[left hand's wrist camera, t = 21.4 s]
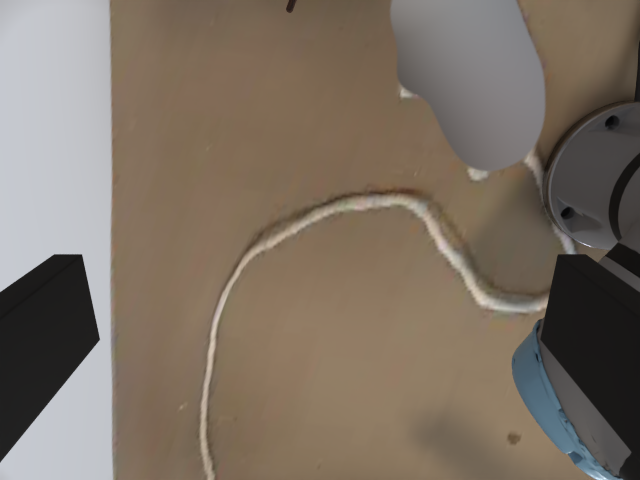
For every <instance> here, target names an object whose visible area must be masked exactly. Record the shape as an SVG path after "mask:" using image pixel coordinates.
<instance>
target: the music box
mask: <svg viewBox="0 0 640 480" xmlns="http://www.w3.org/2000/svg"><path fill="white" fill-rule="evenodd" d="M295 3H296V0H289V3H288V5H287V8H286V10H287V12H289V13H291V12H292V11H293V8H294V6H295Z"/></svg>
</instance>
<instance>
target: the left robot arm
mask: <svg viewBox="0 0 640 480" xmlns="http://www.w3.org/2000/svg"><path fill="white" fill-rule="evenodd" d="M543 198H544V203H545V207H546V210H547V212H548V214H549V216H550V218H551V219H552V221H553V222H554V223H555V225H556V226H557V227H558V228H559V229H560V230H561V231H563V232H564V233H565V234H567V235H568V236H570V237H571V238H573V239H574V240H576V241H578V242H580V243H582V244H584V245H587V246H590V247H595V248H599V249H606V250H610V251H609V252H608V253H607V254H606V255H605V256H604V257H603V258H602V259H601V260H600V261H599V262H598V263H597V262H596V261H594V260H593V259H592V258H590V257H589V256H587V255H586V254H558V257H557V262H556V266H555V271H554V276H553V281H552V285H551V290H550V295H549V300H548V304H547V309H546V314H545V317H544V318H543V319H540V320H538V321H537V322H536V323H535V325H534V327H533V331H532V332H531V333H530V334H529V335H528V336H527V338H526V339H525V340H524V341H523V342H522V343H521V344H520V346H519V347H518V348H517V349H516V351H515V352H514V355H513V358H512V374H513V379H514V382H515V384H516V387H517V390H518V392H519V394H520V396H521V398H522V399H523V401H524V403H525V405H526V407H527V408H528V410H529V411H530V413H531V414H532V416H533V417H534V419H535V420H536V422H537V423H538V424H539V426H540V427H541V428H542V430H543V431H544V432H545V433H546V435H547V436H548V437H549V438H550V439H551V441H552V442H553V443H554V444H555V445H556V446H557V447H558V448H559V449H560V450H561V451H562V452H563V453H568V455H569V457H570V458H571V459H572V461H573V462H574V464H575V465H576V466H577V467H579V468H580V469H581V470H582V471H583V472H585V473H586V474H588V475H589V476H591V477H592V478H594V479H596V480H640V42H639V50H638V70H637V81H636V91H635V100H632V101H623V102H617V103H613V104H610V105H607V106H604V107H602V108H600V109H597V110H595V111H593V112H592V113H590V114H588V115H587V116H585V117H584V118H582V119H581V120H580V121H578V122H577V123H576V124H575V125H574V126H573V127H572V128H571V129H569V130H568V131H567V133H566V134H565V135H564V136H563V137H562V139H561V140H560V141H559V143H558V144H557V146H556V147H555V149H554V150H553V152H552V154H551V156H550V158H549V161H548V163H547V166H546V170H545V174H544V179H543ZM99 340H100V338H99V333H98V328H97V324H96V319H95V314H94V309H93V304H92V300H91V295H90V290H89V285H88V281H87V276H86V271H85V266H84V262H83V257H82V255H79V254H75V255H74V254H70V255H69V254H55V255H53V256H51V257H50V258H48V259H47V260H46V261H44V262H43V263H41V264H40V265H38V266H37V267H36V268H34V269H33V270H31V271H30V272H28V273H27V274H26V275H24V276H23V277H21V278H20V279H18V280H17V281H16V282H14V283H13V284H11V285H10V286H8V287H7V288H6V289H4V290H3V291H1V292H0V462H1V461H2V459H3V458H4V457H5V456H6V455H7V453H8V452H9V451H10V450H11V448H12V447H13V446H14V445H15V444H16V442H17V441H18V440H19V439H20V437H21V436H22V435H23V434H24V432H25V431H26V430H27V429H28V428H29V426H30V425H31V424H32V423H33V421H34V420H35V419H36V418H37V416H38V415H39V414H40V413H41V412H42V410H43V409H44V408H45V407H46V405H47V404H48V403H49V402H50V400H51V399H52V398H53V397H54V396H55V394H56V393H57V392H58V391H59V389H60V388H61V387H62V386H63V384H64V383H65V382H66V381H67V379H68V378H69V377H70V376H71V375H72V373H73V372H74V371H75V370H76V368H77V367H78V366H79V365H80V364H81V362H82V361H83V360H84V359H85V357H86V356H87V355H88V354H89V352H90V351H91V350H92V349H93V347H94V346H95V345H96V344H97V343H98V341H99Z"/></svg>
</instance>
